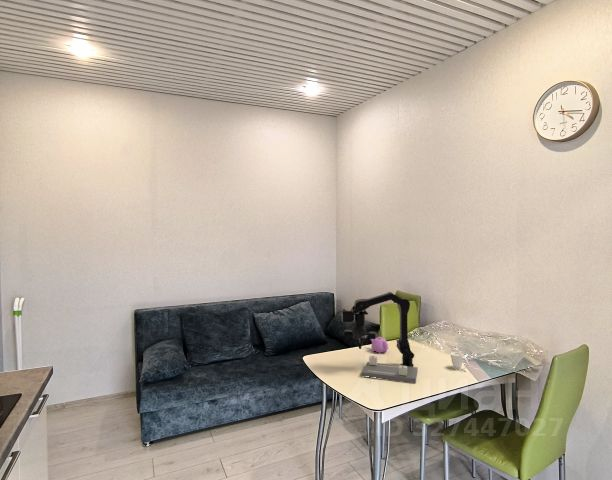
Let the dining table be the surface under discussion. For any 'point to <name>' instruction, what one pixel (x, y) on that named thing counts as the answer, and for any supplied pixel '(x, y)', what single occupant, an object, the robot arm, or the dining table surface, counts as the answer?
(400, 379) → the console
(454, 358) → the cup
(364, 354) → the dining table surface
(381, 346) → the teapot
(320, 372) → the dining table surface
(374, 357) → the block
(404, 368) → the sage fader
